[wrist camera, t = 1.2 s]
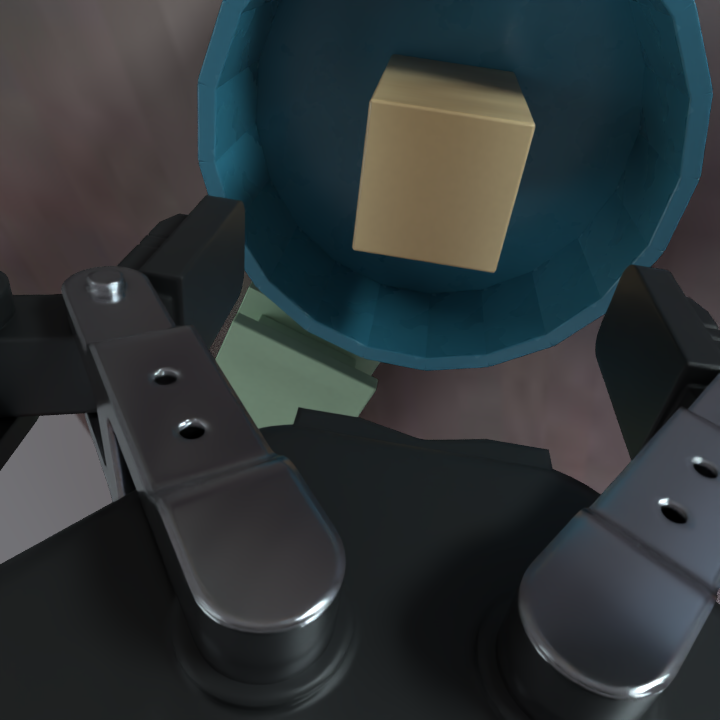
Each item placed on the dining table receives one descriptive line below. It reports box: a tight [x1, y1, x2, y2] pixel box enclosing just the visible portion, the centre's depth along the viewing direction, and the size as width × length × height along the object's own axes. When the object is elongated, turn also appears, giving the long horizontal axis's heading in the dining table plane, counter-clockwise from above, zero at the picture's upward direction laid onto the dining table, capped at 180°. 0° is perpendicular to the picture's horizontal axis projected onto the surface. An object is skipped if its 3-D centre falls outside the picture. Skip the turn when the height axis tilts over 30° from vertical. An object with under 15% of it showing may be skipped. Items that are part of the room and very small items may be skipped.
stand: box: [215, 282, 380, 428], centre depth 29 cm, size 7×7×4 cm
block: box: [352, 54, 535, 273], centre depth 20 cm, size 4×4×7 cm
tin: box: [197, 0, 713, 371], centre depth 21 cm, size 15×15×6 cm
